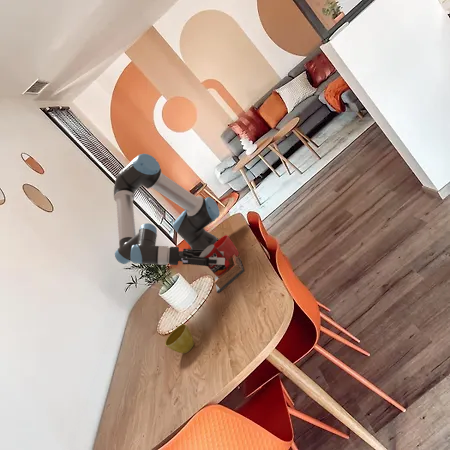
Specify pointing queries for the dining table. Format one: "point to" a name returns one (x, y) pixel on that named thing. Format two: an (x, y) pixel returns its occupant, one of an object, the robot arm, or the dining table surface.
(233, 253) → the flower pot
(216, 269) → the canned food
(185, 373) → the dining table surface
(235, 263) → the brown grey tray
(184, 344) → the flower pot
